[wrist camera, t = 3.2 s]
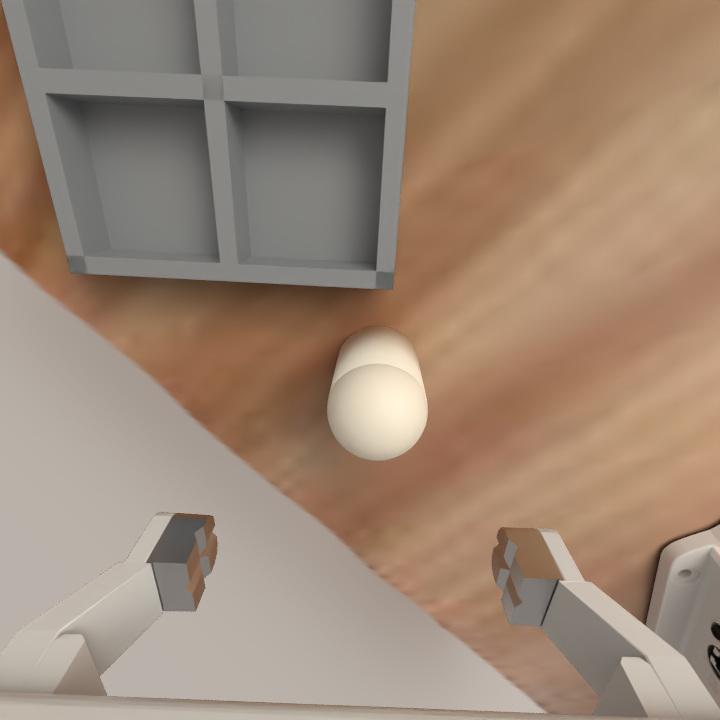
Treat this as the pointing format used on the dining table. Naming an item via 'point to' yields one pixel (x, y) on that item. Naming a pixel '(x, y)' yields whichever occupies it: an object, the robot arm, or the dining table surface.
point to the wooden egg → (377, 394)
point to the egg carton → (221, 134)
